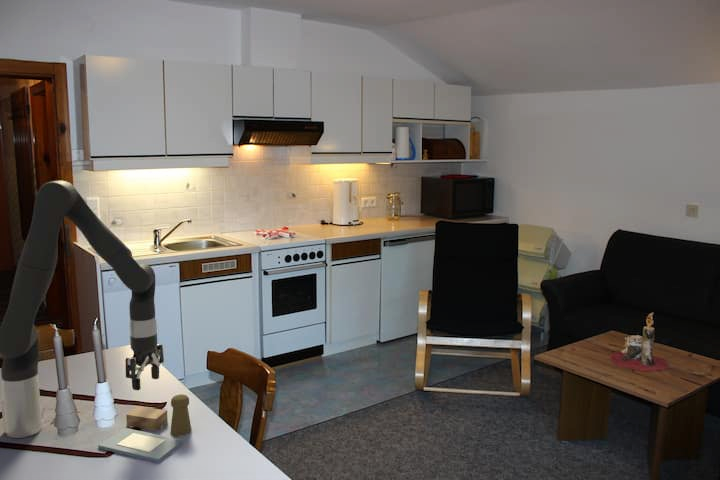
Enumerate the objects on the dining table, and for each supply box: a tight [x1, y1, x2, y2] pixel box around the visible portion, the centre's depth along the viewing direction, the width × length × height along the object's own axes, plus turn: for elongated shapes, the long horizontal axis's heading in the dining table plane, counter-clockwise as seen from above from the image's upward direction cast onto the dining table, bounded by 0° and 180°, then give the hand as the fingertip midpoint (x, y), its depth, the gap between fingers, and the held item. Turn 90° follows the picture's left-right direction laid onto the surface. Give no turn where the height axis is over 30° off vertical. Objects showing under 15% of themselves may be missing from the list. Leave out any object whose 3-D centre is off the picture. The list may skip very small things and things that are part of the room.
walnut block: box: [126, 405, 169, 432], centre depth 187 cm, size 10×6×4 cm, turn 75°
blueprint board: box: [97, 427, 184, 464], centre depth 175 cm, size 20×11×1 cm, turn 70°
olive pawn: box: [170, 393, 192, 437], centre depth 183 cm, size 6×6×11 cm
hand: (146, 384), depth 185 cm, fingers open, 8 cm apart
